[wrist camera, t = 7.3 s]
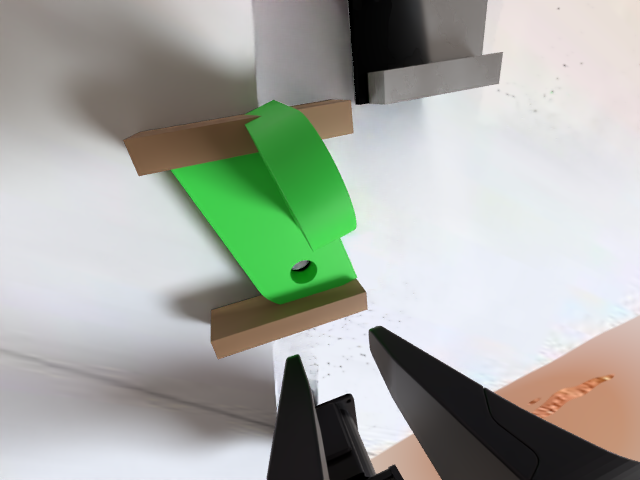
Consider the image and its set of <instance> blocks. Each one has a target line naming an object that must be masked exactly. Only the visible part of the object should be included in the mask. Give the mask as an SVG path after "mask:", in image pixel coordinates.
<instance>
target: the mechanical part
mask: <svg viewBox="0 0 640 480" xmlns="http://www.w3.org/2000/svg"><path fill="white" fill-rule="evenodd" d="M245 115H257V116H261V117H259V118H257V119H255V120H253V121H251V122H249V123H247V124H245V126H246V128H247V130H248V132H249V134H250V136H251V138H252V140H253V142H254V143H255V145H256V147H257V149H258V151H259V152H257V153H252V154H247V155H242V156H237V157H232V158H227V159H222V160H217V161H212V162H207V163H202V164H197V165H192V166H187V167H182V168H177V169H172V170H171V171H172V173H173V174H174V175H175V177H176V178H177V179H178V181H179V182H180V184H181V185H182V186H183V188H184V189H185V190H186V192H187V193H188V195H189V196H190V197H191V199H192V200H193V201H194V203H195V204H196V205H197V207H198V208H199V210H200V211H201V212H202V214H203V215H204V216H205V218H206V219H207V221H208V222H209V223H210V225H211V226H212V227H213V229H214V230H215V232H216V233H217V234H218V236H219V237H220V238H221V240H222V241H223V243H224V244H225V245H226V247H227V248H228V249H229V251H230V252H231V253H232V255H233V256H234V258H235V259H236V260H237V262H238V263H239V264H240V266H241V267H242V269H243V270H244V271H245V273H246V274H247V275H248V277H249V278H250V280H251V281H252V282H253V284H254V285H255V286H256V288H257V289H258V291H259V292H260V293H261V294H262V295H263V296H264V297H265V298H267V299H268V300H270V301H272V302H274V303H277V304H280V305H281V304H284V303H287V302H291V301H294V300H297V299H300V298H303V297H307V296H310V295H313V294H316V293H320V292H323V291H326V290H329V289H332V288H336V287H339V286H342V285H345V284H346V283H348V282H350V281H352V280H354V279H355V278H357V276H356V274H355V271H354V269H353V267H352V264H351V262H350V260H349V257H348V255H347V253H346V251H345V248H344V246H343V244H342V241H341V239H340V237H342V236H344V235H346V234H348V233H350V232H351V231H353V230H355V229H356V217H355V212H354V209H353V205H352V202H351V199H350V196H349V194H348V191H347V189H346V186H345V184H344V182H343V179H342V177H341V175H340V173H339V171H338V169H337V167H336V165H335V163H334V161H333V159H332V157H331V155H330V153H329V151H328V149H327V148H326V146H325V144H324V142H323V141H322V139H321V137H320V136H319V134H318V133H317V131H316V130H315V128H314V127H313V125H312V124H311V123H310V121H309V120H308V119H307V118H306V116H305V115H304V114H303V113H302V112H300V111H299V110H297V109H294V108H292V107H290V106H287V105H285V104H282V103H280V102H278V101H275V100H272V101H270V102H268V103H266V104H264V105H262V106H260V107H258V108H256V109H254V110H252V111H250V112H248V113H246V114H245ZM303 260H309V261H308V263H307V264H306V265H305V266H304V267H302V268H300V269H292V267H293V266H294V265H295V264H296V263H298V262H300V261H303Z"/></svg>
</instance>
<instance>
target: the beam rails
mask: <svg viewBox="0 0 640 480" xmlns="http://www.w3.org/2000/svg"><path fill="white" fill-rule="evenodd" d="M290 107H292V108H294V109H297V110H299V111H300V112H302V113H303V114H304V115H305V116H306V118H307V119H308V120H309V121H310V123H311V124H312V125H313V127H314V128H315V130H316V131H317V133H318V134H319V136H320V137H321V139H327V138H332V137H337V136H342V135H347V134H352V133H353V121H352V108H351V100H333V99H329V100H324V101H318V102H312V103H306V104H300V105H295V106H290ZM259 117H261V116H257V115H245V114H242V115H237V116H231V117H225V118H219V119H213V120H208V121H202V122H196V123H190V124H184V125H179V126H173V127H167V128H161V129H155V130H149V131H144V132H139V133H137V134H135V135H133V136H131V137H129V138H127V139H125V140H123V141H124V143H125V146H126V148H127V150H128V152H129V155H130V157H131V159H132V162H133V164H134V166H135V169H136V171H137V173H138V176H142V175H147V174H152V173H157V172H162V171H167V170H172V169H177V168H182V167H187V166H192V165H197V164H202V163H207V162H212V161H217V160H222V159H227V158H232V157H237V156H242V155H247V154H252V153H257V152H259V151H258V149H257V147H256V145H255V143H254V142H253V140H252V138H251V136H250V134H249V132H248V130H247V128H246V126H245V124H247V123H249V122H251V121H253V120H255V119H257V118H259ZM364 310H367V296H366V291H365V290H364V288H363V287H362V286H361V284H360V283H359V282H358V281H357V279H356V278H355V279H354V280H352V281H350V282H348V283H346V284H345V285H342V286H339V287H336V288H332V289H329V290H326V291H323V292H320V293H316V294H313V295H310V296H307V297H303V298H300V299H297V300H294V301H291V302H287V303H284V304H281V305H280V304H277V303H274V302H272V301H270V300H268V299H267V298H265V297H264V296H263V295H260V296H257V297H254V298H250V299H247V300H244V301H240V302H237V303H234V304H230V305H227V306H224V307H220V308H217V309H214V310H211V344H212V346H213V349H214V351H215V353H216V356H217V358H218V359H221V358H224V357H227V356H230V355H233V354H236V353H239V352H242V351H245V350H248V349H251V348H254V347H257V346H260V345H263V344H266V343H268V342H271V341H274V340H277V339H280V338H283V337H286V336H289V335H292V334H295V333H298V332H301V331H304V330H307V329H310V328H313V327H316V326H319V325H322V324H325V323H328V322H331V321H334V320H337V319H340V318H343V317H346V316H349V315H352V314H355V313H358V312H361V311H364Z"/></svg>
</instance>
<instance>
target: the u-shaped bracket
mask: <svg viewBox="0 0 640 480" xmlns="http://www.w3.org/2000/svg"><path fill="white" fill-rule="evenodd" d="M487 1H488V0H348V10H349V24H350V37H351V51H352V64H353V78H354V92H355V105H362V104H391V103H396V102H401V101H407V100H412V99H418V98H423V97H429V96H434V95H440V94H445V93H451V92H456V91H461V90H467V89H472V88H478V87H483V86H489V85H494V84H499V78H500V70H501V62H502V55H503V52H500V53H493V54H486V55H482V50H483V40H484V30H485V20H486V11H487Z"/></svg>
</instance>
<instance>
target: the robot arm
mask: <svg viewBox="0 0 640 480" xmlns="http://www.w3.org/2000/svg"><path fill="white" fill-rule="evenodd" d="M369 344H370V350H371V353H372V356H373V358H374V360H375V362H376V364H377V366H378V368H379V371H380V373H381V375H382V377H383V379H384V381H385V383H386V385H387V388H388V390H389V392H390V394H391V396H392V398H393V400H394V401H395V403H396V405H397V407H398V408H399V410H400V411H401V413H402V415H403V416H404V418H405V420H406V421H407V423H408V425H409V426H410V428H411V430H412V431H413V433H414V435H415V436H416V438H417V439H418V441H419V443H420V444H421V446H422V448H423V449H424V451H425V453H426V454H427V456H428V458H429V459H430V461H431V462H432V464H433V466H434V467H435V469H436V471H437V472H438V474H439V476H440V477H441V479H442V480H640V462H638V461H635V460H631V459H628V458H625V457H622V456H619V455H617V454H614V453H612V452H609V451H607V450H605V449H603V448H601V447H598V446H596V445H594V444H592V443H590V442H588V441H586V440H584V439H582V438H580V437H578V436H576V435H574V434H572V433H570V432H568V431H566V430H564V429H562V428H560V427H558V426H556V425H554V424H552V423H549V422H547V421H546V420H544V419H542V418H540V417H538V416H536V415H534V414H532V413H530V412H528V411H526V410H524V409H522V408H520V407H518V406H516V405H515V404H513V403H511V402H509V401H508V400H506V399H504V398H502V397H501V396H499V395H497V394H495V393H494V392H492V391H490V390H489V389H487V388H484V389H483V386H482V385H480V384H478V383H477V382H475V381H473V380H472V379H470V378H468V377H467V376H465V375H463V374H461V373H460V372H458V371H456V370H455V369H453V368H451V367H450V366H448V365H446V364H445V363H443V362H441V361H440V360H438V359H436V358H434V357H433V356H431V355H429V354H428V353H426V352H424V351H423V350H421V349H419V348H418V347H416V346H414V345H413V344H411V343H409V342H407V341H406V340H404V339H402V338H401V337H399V336H397V335H396V334H394V333H392V332H391V331H389V330H387V329H386V328H384V327H382V326H377V327H374V328H371V329H370V330H369ZM267 480H404V479H403V478H402V476H401V474H400V473H399V471H398V469H397V467H396V466H395V465H392V466H390V467H389V469H387V470H385V471H382V472H380V473H378V474H376V473H375V470H374V468H373V466H372V463H371V461H370V459H369V456H368V454H367V451H366V449H365V447H364V444H363V442H362V440H361V437H360V435H359V432H358V427H357V419H356V412H355V404H354V398H353V396H352V394H345V395H343V396H340V397H338V398H335V399H333V400H330V401H327V402H325V403H322V404H320V405H317V406H315V405H314V401H313V397H312V392H311V388H310V385H309V381H308V378H307V376H306V373H305V370H304V367H303V364H302V361H301V358H300V355H298V354H297V355H294V356H291V357H288V358H287V359H286V363H285V369H284V375H283V381H282V387H281V393H280V400H279V406H278V412H277V418H276V424H275V430H274V436H273V442H272V448H271V454H270V460H269V466H268V473H267Z"/></svg>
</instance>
